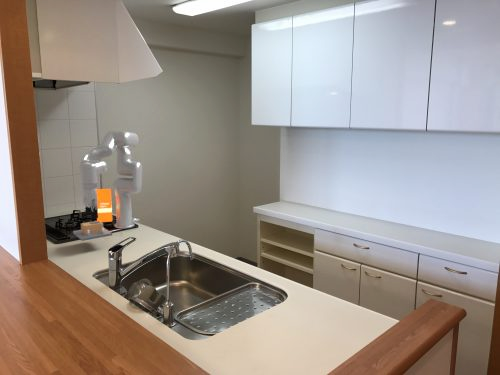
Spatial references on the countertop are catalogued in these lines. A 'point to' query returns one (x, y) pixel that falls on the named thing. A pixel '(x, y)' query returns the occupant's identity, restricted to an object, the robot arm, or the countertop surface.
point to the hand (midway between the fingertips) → (91, 216)
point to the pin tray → (83, 237)
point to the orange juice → (104, 205)
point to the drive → (91, 227)
